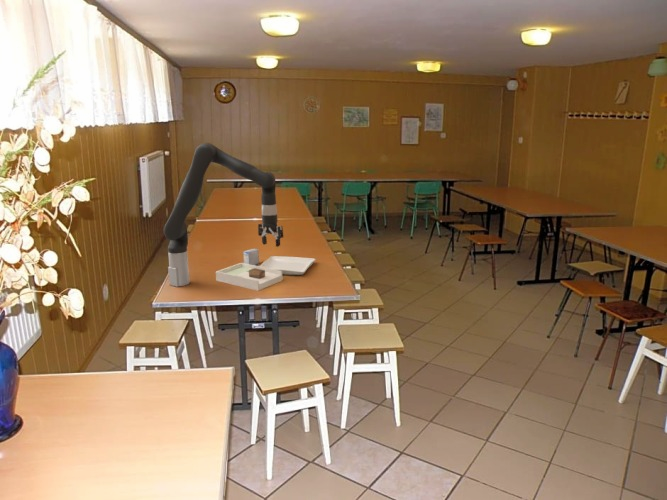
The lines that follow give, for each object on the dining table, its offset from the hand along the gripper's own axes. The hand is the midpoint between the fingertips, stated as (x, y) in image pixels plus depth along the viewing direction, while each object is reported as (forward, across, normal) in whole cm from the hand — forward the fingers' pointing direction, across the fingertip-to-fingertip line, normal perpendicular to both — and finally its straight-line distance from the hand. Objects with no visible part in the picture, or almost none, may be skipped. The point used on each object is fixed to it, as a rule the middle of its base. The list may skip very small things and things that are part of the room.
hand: (271, 245), depth 260 cm
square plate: (+21, -12, +25) cm, 35 cm away
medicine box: (+21, -34, +20) cm, 44 cm away
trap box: (+20, -14, -2) cm, 25 cm away
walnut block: (+18, -9, -2) cm, 20 cm away
